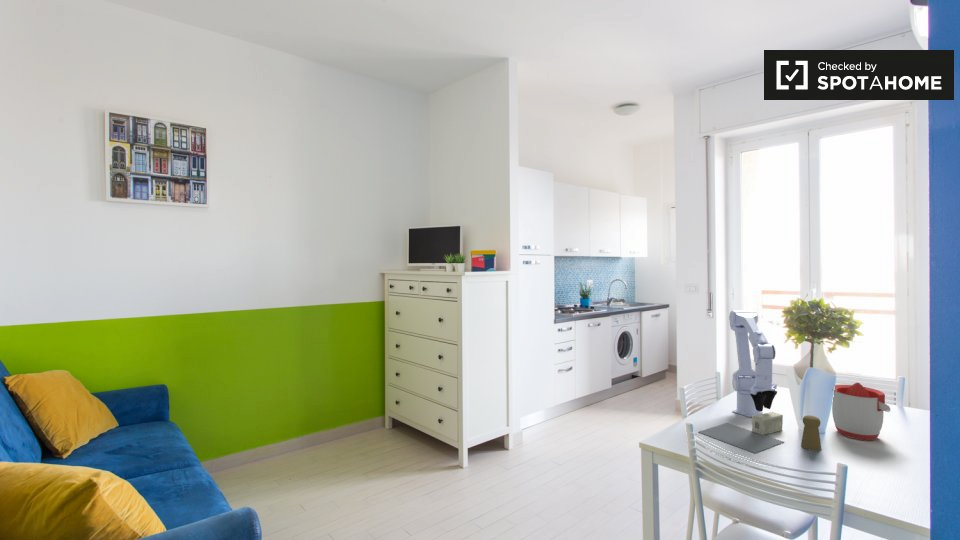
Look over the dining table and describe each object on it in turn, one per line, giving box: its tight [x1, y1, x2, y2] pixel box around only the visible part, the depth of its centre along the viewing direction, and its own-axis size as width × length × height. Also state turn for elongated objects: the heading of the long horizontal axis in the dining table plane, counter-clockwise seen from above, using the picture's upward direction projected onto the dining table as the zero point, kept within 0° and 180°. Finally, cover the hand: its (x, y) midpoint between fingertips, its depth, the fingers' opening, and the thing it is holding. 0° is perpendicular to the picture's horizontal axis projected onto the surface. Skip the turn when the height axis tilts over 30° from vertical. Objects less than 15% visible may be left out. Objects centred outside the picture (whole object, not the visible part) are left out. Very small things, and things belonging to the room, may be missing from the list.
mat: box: [698, 422, 785, 455], centre depth 177 cm, size 18×22×1 cm
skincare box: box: [751, 411, 784, 435], centre depth 182 cm, size 6×4×12 cm
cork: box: [800, 415, 822, 451], centre depth 167 cm, size 6×6×11 cm
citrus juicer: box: [831, 382, 891, 441], centre depth 176 cm, size 16×17×20 cm
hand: (763, 409), depth 184 cm, fingers open, 5 cm apart
